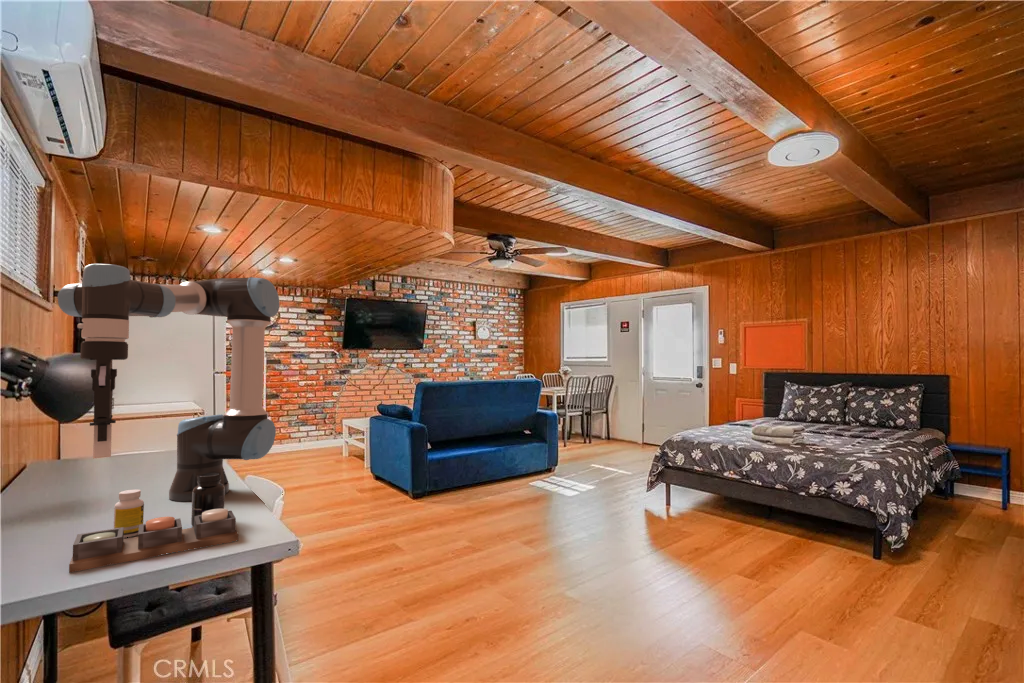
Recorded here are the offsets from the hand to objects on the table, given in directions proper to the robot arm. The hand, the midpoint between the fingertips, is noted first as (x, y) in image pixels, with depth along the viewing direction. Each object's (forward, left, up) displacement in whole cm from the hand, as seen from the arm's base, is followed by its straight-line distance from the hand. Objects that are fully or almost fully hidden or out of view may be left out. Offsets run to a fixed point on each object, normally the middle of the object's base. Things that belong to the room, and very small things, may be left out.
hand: (102, 456), depth 102 cm
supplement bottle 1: (-10, -11, -20) cm, 25 cm away
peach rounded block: (-18, +9, -17) cm, 26 cm away
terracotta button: (-9, +4, -17) cm, 20 cm away
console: (-9, +4, -20) cm, 23 cm away
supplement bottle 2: (-23, -2, -20) cm, 31 cm away
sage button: (0, 0, -18) cm, 18 cm away
